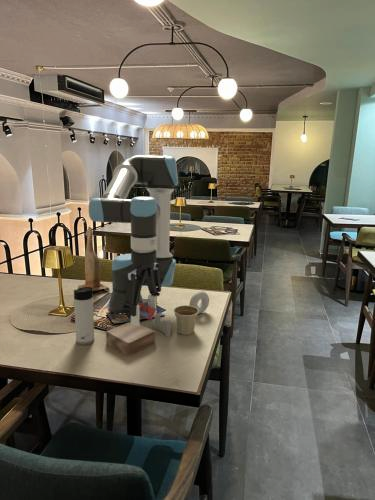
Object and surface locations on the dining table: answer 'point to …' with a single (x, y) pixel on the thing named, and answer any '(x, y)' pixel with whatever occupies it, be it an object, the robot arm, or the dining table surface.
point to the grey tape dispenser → (162, 324)
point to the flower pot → (186, 318)
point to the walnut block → (130, 338)
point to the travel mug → (84, 315)
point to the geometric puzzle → (146, 311)
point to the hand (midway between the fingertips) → (143, 319)
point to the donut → (204, 301)
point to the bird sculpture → (92, 266)
